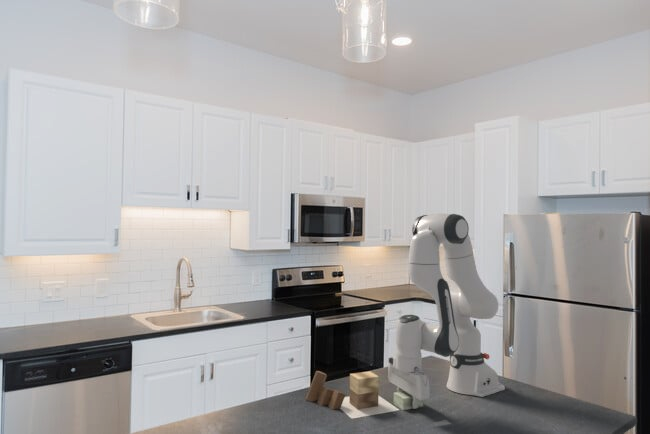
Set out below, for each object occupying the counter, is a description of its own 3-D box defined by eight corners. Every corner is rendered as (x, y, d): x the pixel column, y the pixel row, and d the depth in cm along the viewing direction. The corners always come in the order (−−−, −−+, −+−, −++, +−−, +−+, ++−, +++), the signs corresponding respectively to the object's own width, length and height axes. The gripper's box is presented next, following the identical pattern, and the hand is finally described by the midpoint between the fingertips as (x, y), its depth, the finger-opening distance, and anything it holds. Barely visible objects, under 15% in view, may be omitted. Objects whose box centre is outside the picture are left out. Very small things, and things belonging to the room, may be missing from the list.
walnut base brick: (369, 399, 158) (369, 385, 158) (378, 406, 152) (378, 391, 153) (349, 403, 155) (349, 388, 155) (357, 409, 149) (357, 394, 149)
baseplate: (374, 395, 165) (374, 392, 165) (399, 413, 149) (399, 410, 149) (329, 402, 158) (329, 399, 158) (351, 422, 142) (351, 418, 142)
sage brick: (412, 403, 158) (412, 389, 158) (422, 410, 152) (423, 395, 153) (393, 407, 155) (393, 392, 155) (403, 413, 149) (403, 398, 149)
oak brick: (369, 385, 158) (370, 371, 158) (378, 391, 153) (378, 376, 153) (349, 388, 155) (349, 373, 155) (358, 394, 149) (358, 379, 149)
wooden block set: (341, 418, 151) (352, 388, 153) (321, 412, 147) (333, 382, 149) (316, 397, 167) (326, 371, 168) (297, 392, 163) (308, 365, 164)
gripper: (434, 371, 146) (434, 414, 145) (400, 354, 164) (399, 392, 164) (418, 373, 143) (418, 417, 143) (385, 356, 162) (384, 394, 162)
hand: (407, 403), depth 154 cm, fingers closed on sage brick, 6 cm apart
